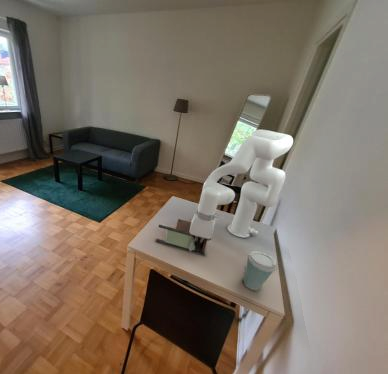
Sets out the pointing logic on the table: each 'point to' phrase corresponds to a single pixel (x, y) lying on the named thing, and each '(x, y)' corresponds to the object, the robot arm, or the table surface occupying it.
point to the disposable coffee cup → (258, 269)
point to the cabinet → (184, 229)
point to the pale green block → (180, 240)
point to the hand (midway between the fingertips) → (196, 246)
